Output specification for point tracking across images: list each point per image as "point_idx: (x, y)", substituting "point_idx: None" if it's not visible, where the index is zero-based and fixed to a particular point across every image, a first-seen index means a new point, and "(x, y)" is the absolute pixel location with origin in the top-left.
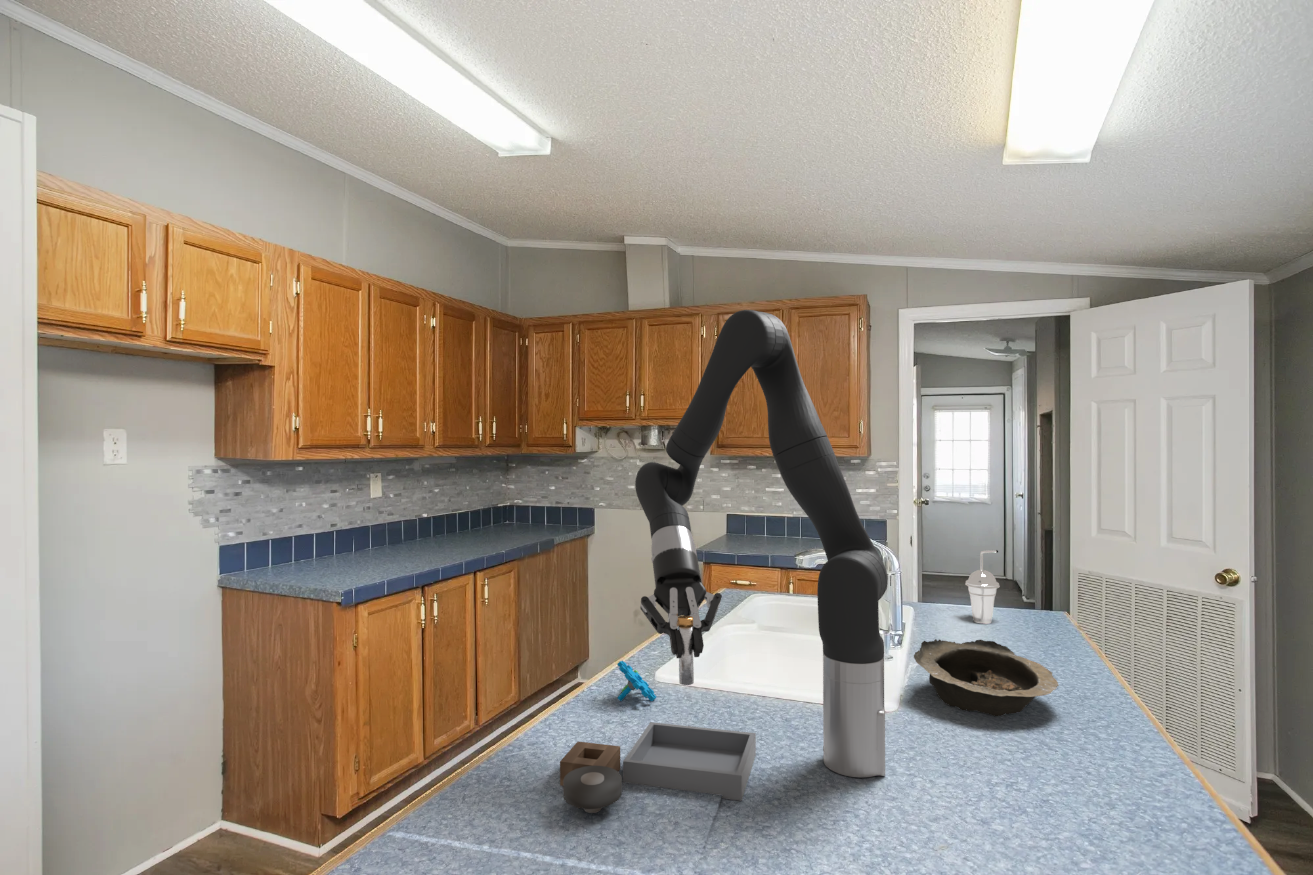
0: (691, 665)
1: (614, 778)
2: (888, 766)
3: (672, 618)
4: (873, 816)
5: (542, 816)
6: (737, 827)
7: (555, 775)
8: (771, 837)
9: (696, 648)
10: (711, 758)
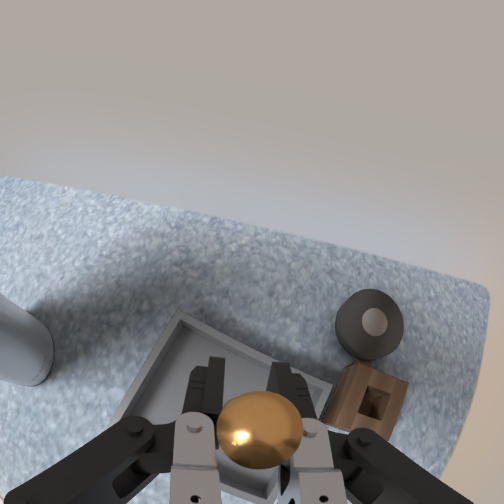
0: (228, 400)
1: (350, 320)
2: None
3: (319, 459)
4: (74, 253)
5: None
6: (207, 270)
7: None
8: (181, 246)
9: (222, 358)
10: None
